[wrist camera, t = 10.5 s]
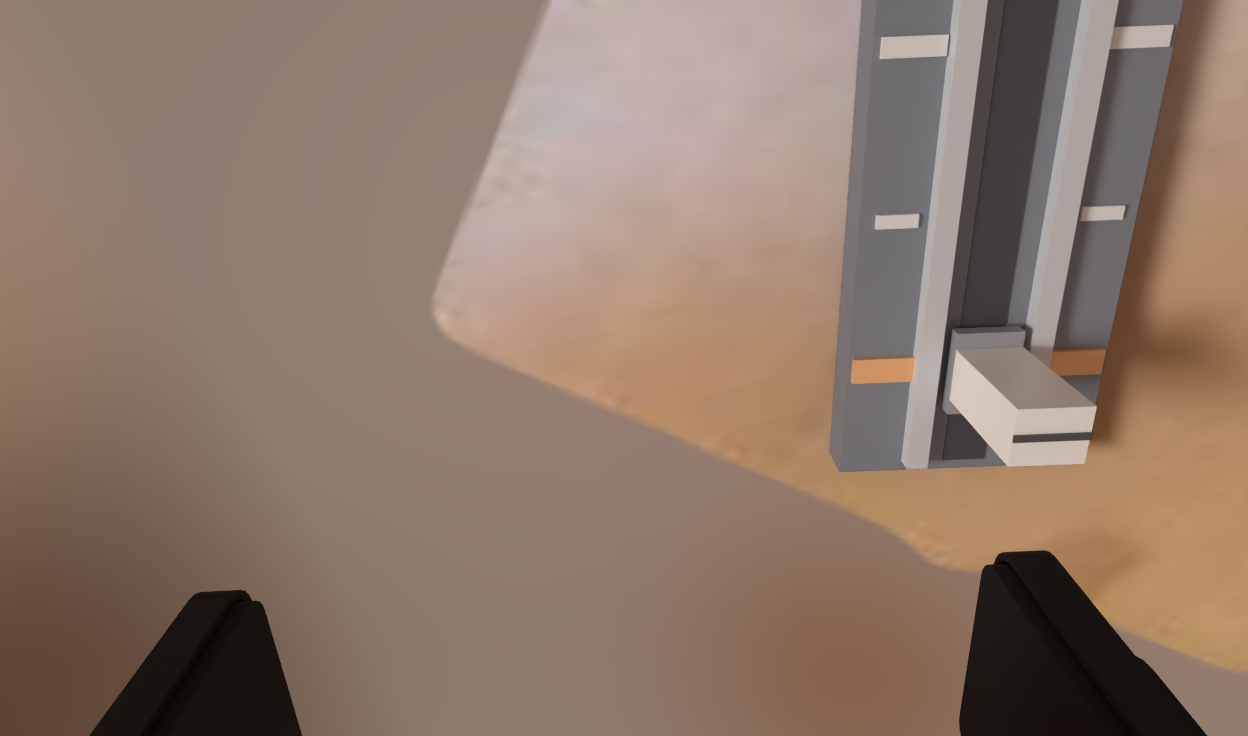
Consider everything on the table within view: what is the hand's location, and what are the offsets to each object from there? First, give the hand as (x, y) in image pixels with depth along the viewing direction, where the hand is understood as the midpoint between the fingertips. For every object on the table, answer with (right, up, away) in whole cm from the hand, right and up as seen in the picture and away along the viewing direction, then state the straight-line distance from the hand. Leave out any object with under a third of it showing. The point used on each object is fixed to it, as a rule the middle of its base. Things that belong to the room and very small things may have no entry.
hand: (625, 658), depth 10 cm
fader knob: (+16, +4, +27) cm, 31 cm away
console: (+16, +10, +26) cm, 33 cm away
